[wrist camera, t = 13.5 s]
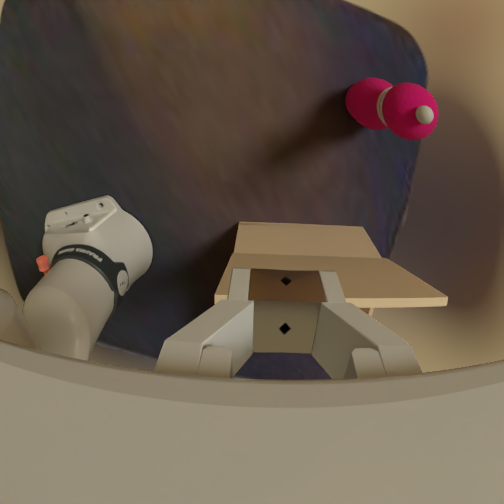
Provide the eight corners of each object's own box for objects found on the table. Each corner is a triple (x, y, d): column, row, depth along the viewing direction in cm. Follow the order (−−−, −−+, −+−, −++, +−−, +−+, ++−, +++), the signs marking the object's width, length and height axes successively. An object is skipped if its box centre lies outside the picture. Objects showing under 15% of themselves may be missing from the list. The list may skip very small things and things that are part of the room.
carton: (239, 303, 59) (234, 351, 48) (239, 221, 51) (232, 260, 41) (346, 306, 59) (360, 351, 48) (362, 226, 51) (385, 265, 40)
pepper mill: (380, 131, 43) (447, 164, 26) (336, 116, 43) (383, 138, 25) (393, 88, 40) (468, 96, 22) (348, 71, 39) (404, 64, 22)
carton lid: (214, 304, 25) (214, 294, 25) (232, 259, 41) (232, 253, 40) (446, 305, 25) (448, 297, 24) (385, 264, 40) (386, 258, 40)
